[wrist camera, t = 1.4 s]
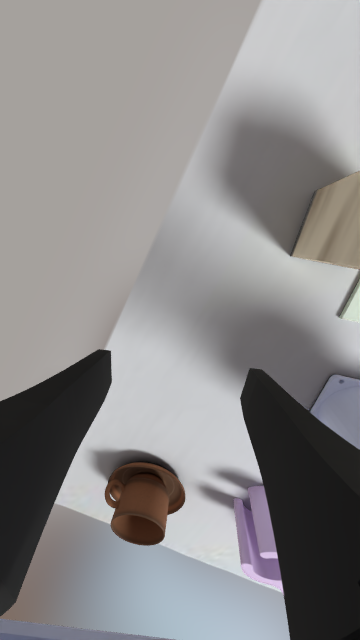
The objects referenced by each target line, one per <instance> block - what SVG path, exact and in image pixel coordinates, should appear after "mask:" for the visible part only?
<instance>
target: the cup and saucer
mask: <svg viewBox="0 0 360 640" xmlns="http://www.w3.org/2000/svg"><path fill="white" fill-rule="evenodd" d="M110 494H111V495H112V497H113V498H114V499H115V500H116V501H114V500H112V499H111V497H110ZM105 499H106V502H107V504H108V505H109V506H111V507H113V508H116V509H115V512H114V515H113V518H112V521H111V528H112V530H113V532H114V533H115V534H116V535H117V536H119V537H120V538H121V539H123V540H125V541H127V542H130V543H133V544H138V545H155V544H158V543H160V542H161V541H162V540H163V539H164V537H165V529H166V521H167V515H169V514H172V513H174V512H176V511H178V510H179V509H180V508H181V507H182V506H183V504H184V502H185V491H184V488H183V485H182V484H181V482H180V481H179V480H178V478H177V477H176V476H175V475H174V474H173V473H171V472H170V471H168V470H167V469H165V468H163V467H161V466H158V465H155V464H151V463H145V462H135V463H129V464H126V465H123V466H121V467H119V468H118V469H116V470H115V471H114V472H113V473H112V475H111V476H110V478H109V481H108V485H107V487H106V489H105Z"/></svg>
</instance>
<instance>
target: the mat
mask: <svg viewBox="0 0 360 640" xmlns="http://www.w3.org/2000/svg"><path fill="white" fill-rule="evenodd" d="M339 318H341V319H344V320H349V321H354V322H359V323H360V279H359V281H358V283H357V285H356V287H355V289H354V291H353V293H352V295H351V296H350V298H349V300H348V302H347V304H346V306H345V308H344V310H343V311H342V313H341V315H340V317H339Z"/></svg>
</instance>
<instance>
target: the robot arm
mask: <svg viewBox="0 0 360 640" xmlns="http://www.w3.org/2000/svg"><path fill="white" fill-rule="evenodd" d="M340 380H341V381H340ZM111 383H112V376H111V351H108V350H100V349H99V350H97V351H95V352H93V353H92V354H90V355H88V356H87V357H85V358H84V359H82V360H80V361H79V362H77V363H75V364H74V365H72V366H70V367H69V368H67V369H65V370H64V371H62V372H60V373H58V374H56V375H54V376H53V377H51V378H49V379H47V380H45V381H43V382H41V383H39V384H37V385H36V386H33V387H31V388H29V389H27V390H25V391H23V392H21V393H19V394H16V395H15V396H12V397H10V398H7V399H5V400H2V401H0V616H1V615H3V614H4V613H5V612H6V611H7V610H9V609H10V608H11V607H12V605H13V604H14V603H15V602H16V600H17V597H18V595H19V592H20V589H21V587H22V584H23V581H24V578H25V576H26V573H27V571H28V568H29V565H30V563H31V560H32V558H33V555H34V552H35V550H36V547H37V544H38V542H39V539H40V537H41V534H42V532H43V529H44V527H45V524H46V522H47V519H48V517H49V514H50V512H51V509H52V507H53V504H54V502H55V500H56V498H57V495H58V493H59V490H60V488H61V486H62V483H63V481H64V479H65V476H66V474H67V472H68V470H69V467H70V465H71V463H72V461H73V458H74V456H75V454H76V452H77V450H78V448H79V446H80V444H81V442H82V440H83V439H84V437H85V435H86V433H87V431H88V430H89V428H90V426H91V424H92V422H93V421H94V419H95V417H96V415H97V413H98V411H99V410H100V408H101V406H102V404H103V402H104V400H105V398H106V395H107V393H108V391H109V388H110V385H111ZM240 399H241V405H242V411H243V416H244V420H245V424H246V427H247V430H248V433H249V437H250V440H251V443H252V446H253V449H254V453H255V456H256V459H257V462H258V465H259V469H260V473H261V476H262V481H263V485H264V490H265V494H266V499H267V503H268V508H269V514H270V519H271V524H272V529H273V534H274V539H275V545H276V551H277V556H278V562H279V568H280V573H281V580H282V586H283V593H284V599H285V605H286V612H287V619H288V625H289V633H290V640H360V380H359V379H354V378H350V377H345V376H340V375H332V376H331V377H330V379H329V380H328V382H327V384H326V385H325V387H324V389H323V391H322V392H321V394H320V396H319V397H318V399H317V401H316V402H315V404H314V406H313V408H312V409H311V411H310V412H309V411H308V410H306V409H305V408H304V407H303V406H302V405H301V404H299V403H298V402H297V401H296V400H295V399H294V398H293V397H291V396H290V395H289V394H288V393H287V392H286V391H285V390H284V389H283V388H282V387H281V386H279V385H278V384H277V383H276V382H275V381H274V380H273V379H272V378H271V377H270V376H269V375H267V374H266V373H265V372H264V371H263V370H260V369H252V368H250V369H249V372H248V376H247V379H246V382H245V385H244V388H243V391H242V394H241V398H240ZM0 640H174V639H165V638H157V637H149V636H141V635H132V634H124V633H115V632H107V631H99V630H90V629H82V628H74V627H65V626H56V625H48V624H40V623H32V622H23V621H15V620H6V619H0Z"/></svg>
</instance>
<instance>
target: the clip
mask: <svg viewBox="0 0 360 640" xmlns="http://www.w3.org/2000/svg"><path fill="white" fill-rule="evenodd" d="M248 493H249V498H250V503H251V509H252V511H250V510H248V509H247V508H245V507H244V505H243V501H242V499H239V498H235V499H234V500H233V502H234V510H235V518H236V527H237V535H238V543H239V552H240V560H241V568H242V571H243V572H244V573H245V574H246V575H247V576H248V577H250V578H251V579H253V580H256V581H258V582H261V583H265V584H269V585H272V586H275V587H277V588H278V589H280V590H281V591H282V593H283V586H282V580H281V573H280V568H279V562H278V556H277V551H276V545H275V539H274V534H273V529H272V524H271V519H270V514H269V508H268V503H267V499H266V494H265V490H264V486H251V487H248ZM283 595H284V593H283Z"/></svg>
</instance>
